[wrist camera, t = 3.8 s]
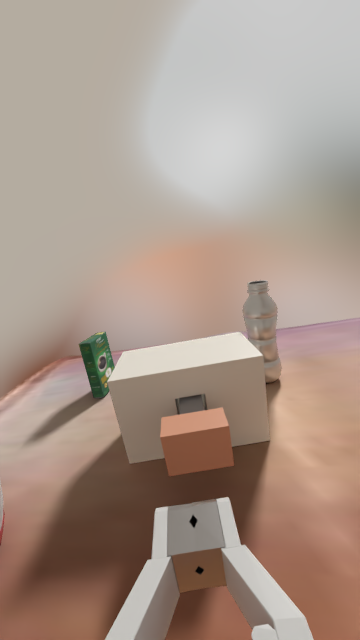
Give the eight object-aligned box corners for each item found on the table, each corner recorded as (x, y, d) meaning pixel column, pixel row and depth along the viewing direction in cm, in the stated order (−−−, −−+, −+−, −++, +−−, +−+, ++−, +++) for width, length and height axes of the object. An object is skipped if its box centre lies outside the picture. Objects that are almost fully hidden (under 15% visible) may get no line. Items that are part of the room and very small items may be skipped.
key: (234, 465, 24) (229, 425, 23) (168, 476, 24) (160, 437, 23) (216, 407, 34) (211, 377, 32) (169, 415, 34) (163, 385, 32)
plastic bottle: (256, 389, 44) (247, 286, 39) (244, 373, 50) (234, 283, 45) (289, 383, 44) (283, 280, 39) (272, 367, 51) (266, 278, 46)
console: (270, 440, 32) (263, 355, 29) (129, 463, 32) (107, 381, 29) (247, 399, 42) (240, 332, 38) (139, 417, 42) (123, 351, 38)
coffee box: (108, 380, 58) (95, 331, 55) (118, 379, 58) (106, 330, 55) (92, 399, 51) (76, 344, 47) (104, 398, 50) (89, 342, 47)
